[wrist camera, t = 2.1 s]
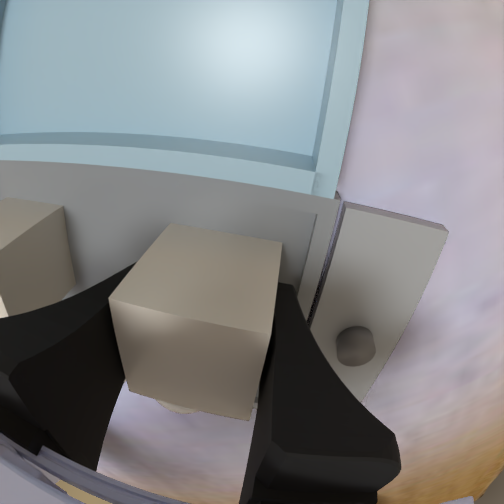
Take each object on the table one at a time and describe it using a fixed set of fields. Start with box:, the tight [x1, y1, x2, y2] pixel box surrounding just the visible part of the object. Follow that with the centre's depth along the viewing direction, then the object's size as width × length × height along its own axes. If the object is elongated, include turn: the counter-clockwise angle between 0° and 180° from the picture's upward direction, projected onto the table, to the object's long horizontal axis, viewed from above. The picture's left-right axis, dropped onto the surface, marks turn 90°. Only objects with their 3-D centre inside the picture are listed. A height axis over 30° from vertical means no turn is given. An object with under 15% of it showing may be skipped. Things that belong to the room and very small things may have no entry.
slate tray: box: [0, 160, 449, 409], centre depth 13 cm, size 12×20×1 cm, turn 83°
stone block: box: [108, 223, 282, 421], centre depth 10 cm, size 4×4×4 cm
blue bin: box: [0, 0, 369, 199], centre depth 7 cm, size 9×15×2 cm, turn 83°
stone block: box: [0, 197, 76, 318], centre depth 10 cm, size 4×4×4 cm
